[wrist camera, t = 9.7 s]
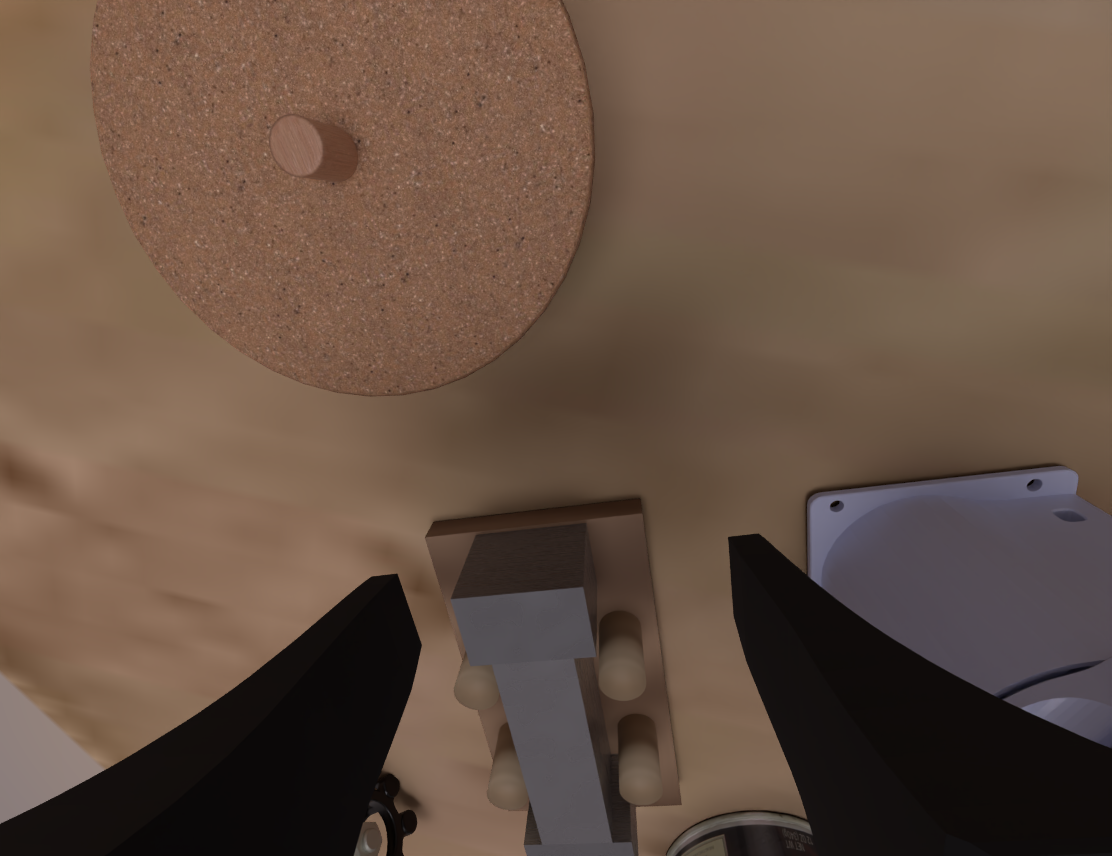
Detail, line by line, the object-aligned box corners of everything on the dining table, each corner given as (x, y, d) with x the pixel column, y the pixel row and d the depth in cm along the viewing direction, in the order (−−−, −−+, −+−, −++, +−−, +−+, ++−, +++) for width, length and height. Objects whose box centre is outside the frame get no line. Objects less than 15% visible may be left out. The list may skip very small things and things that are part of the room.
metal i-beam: (475, 534, 22) (450, 599, 18) (586, 522, 22) (582, 586, 18) (545, 798, 28) (536, 888, 24) (634, 795, 27) (640, 886, 23)
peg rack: (433, 522, 24) (400, 583, 20) (640, 498, 22) (648, 558, 18) (512, 788, 30) (498, 876, 26) (678, 781, 28) (690, 872, 24)
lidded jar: (365, 366, 21) (200, 472, 12) (230, 59, 18) (-133, -91, 9) (632, 286, 19) (657, 346, 11) (541, -77, 16) (466, -438, 7)
